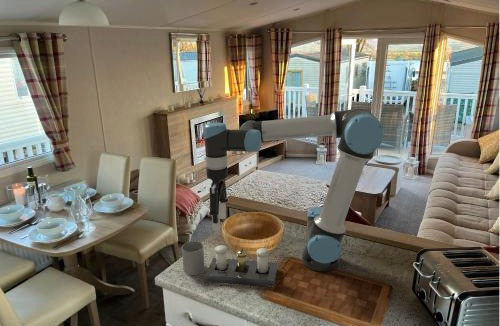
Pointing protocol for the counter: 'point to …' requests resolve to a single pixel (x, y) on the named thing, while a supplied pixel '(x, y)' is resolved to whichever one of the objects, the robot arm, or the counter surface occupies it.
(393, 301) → the counter surface
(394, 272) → the counter surface
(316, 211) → the robot arm
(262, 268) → the knob
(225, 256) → the knob
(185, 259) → the cup
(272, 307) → the counter surface
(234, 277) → the panel
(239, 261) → the brass slotted knob
